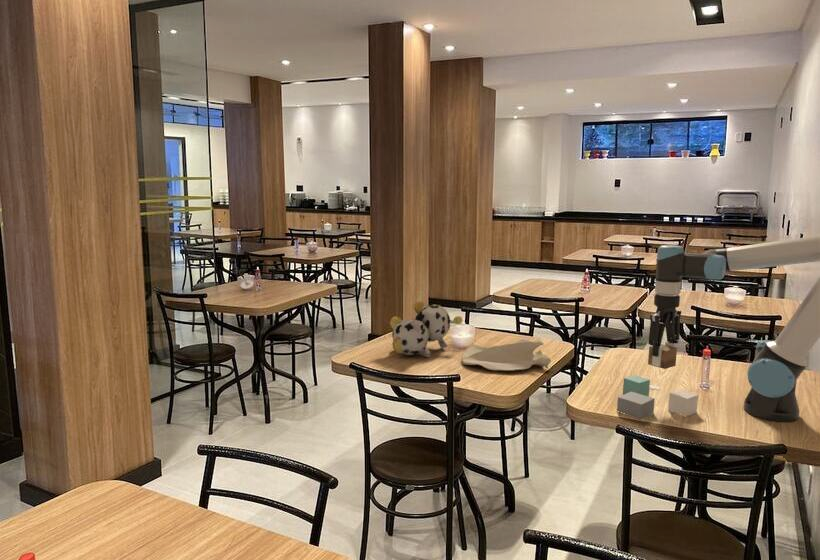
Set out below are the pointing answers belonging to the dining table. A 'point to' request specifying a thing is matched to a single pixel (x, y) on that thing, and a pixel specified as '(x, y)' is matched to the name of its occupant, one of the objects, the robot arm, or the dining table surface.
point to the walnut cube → (665, 356)
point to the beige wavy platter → (507, 356)
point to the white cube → (683, 402)
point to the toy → (421, 329)
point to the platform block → (635, 405)
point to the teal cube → (636, 385)
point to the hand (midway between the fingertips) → (662, 363)
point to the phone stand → (654, 387)
